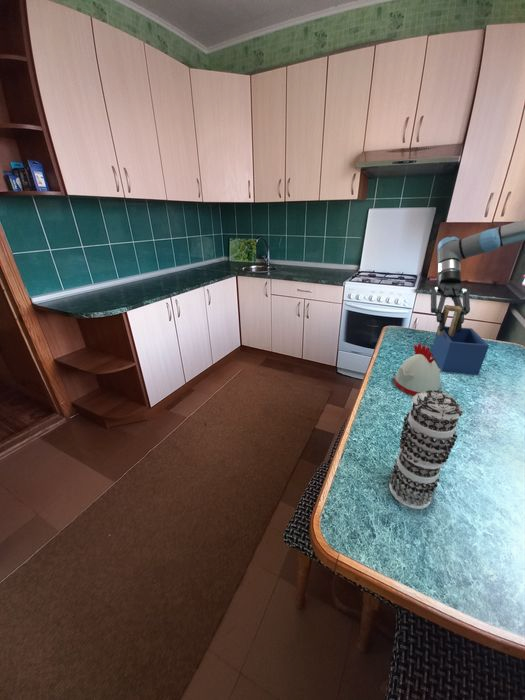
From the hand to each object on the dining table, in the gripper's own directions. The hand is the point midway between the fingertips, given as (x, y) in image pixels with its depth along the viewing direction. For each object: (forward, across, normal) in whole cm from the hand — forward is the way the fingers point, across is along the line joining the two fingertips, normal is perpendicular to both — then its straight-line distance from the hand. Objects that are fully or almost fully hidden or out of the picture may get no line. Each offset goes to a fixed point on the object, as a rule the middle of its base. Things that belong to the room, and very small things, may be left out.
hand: (450, 330), depth 105 cm
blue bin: (+8, -6, -13) cm, 16 cm away
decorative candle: (+54, +21, +33) cm, 67 cm away
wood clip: (0, 0, -5) cm, 5 cm away
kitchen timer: (+22, +12, +1) cm, 25 cm away
